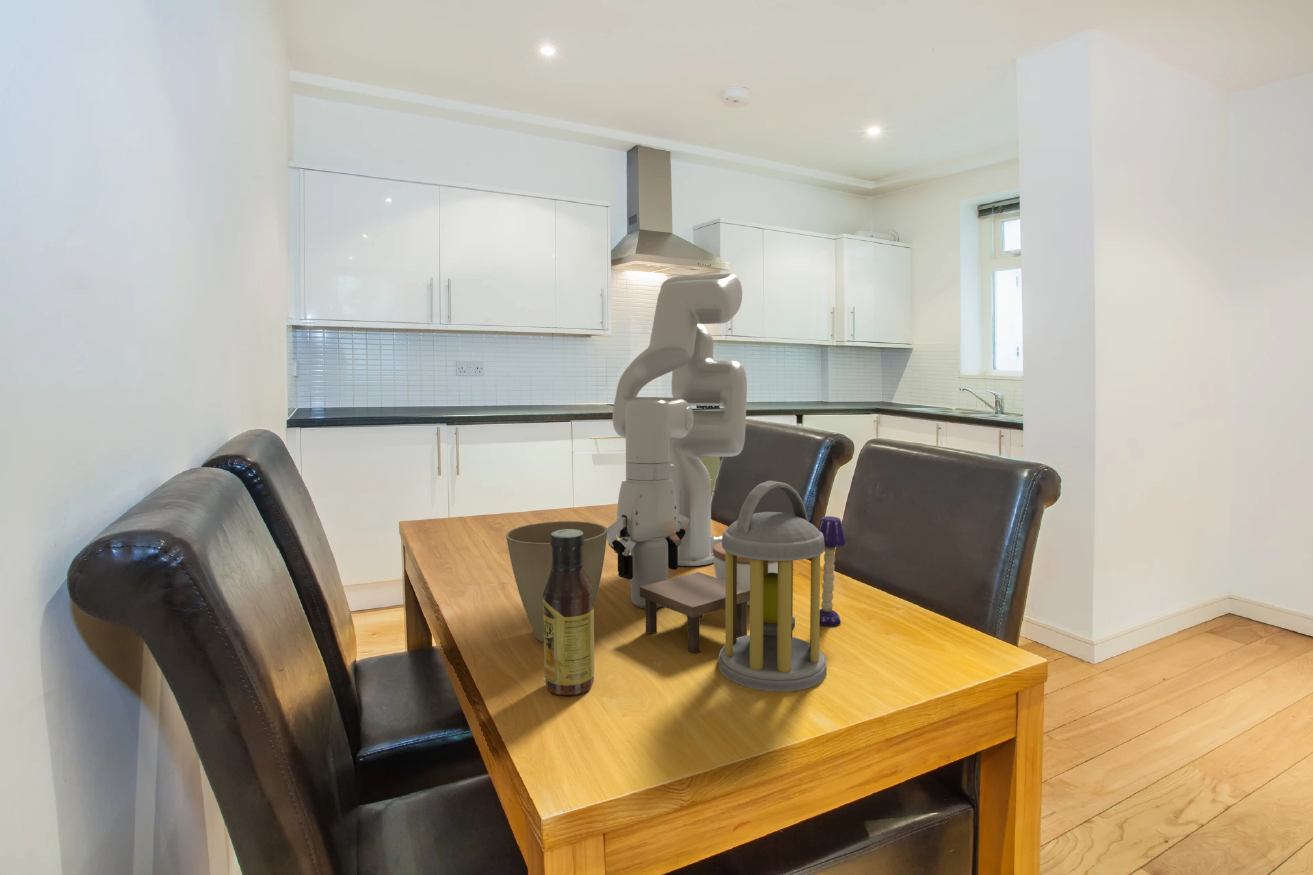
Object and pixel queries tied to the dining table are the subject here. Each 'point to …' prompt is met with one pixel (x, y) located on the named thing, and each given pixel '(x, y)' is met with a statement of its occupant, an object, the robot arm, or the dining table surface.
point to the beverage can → (648, 566)
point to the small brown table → (693, 602)
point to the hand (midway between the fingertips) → (648, 572)
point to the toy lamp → (830, 567)
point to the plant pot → (550, 562)
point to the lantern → (772, 597)
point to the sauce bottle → (568, 618)
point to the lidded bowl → (742, 567)
